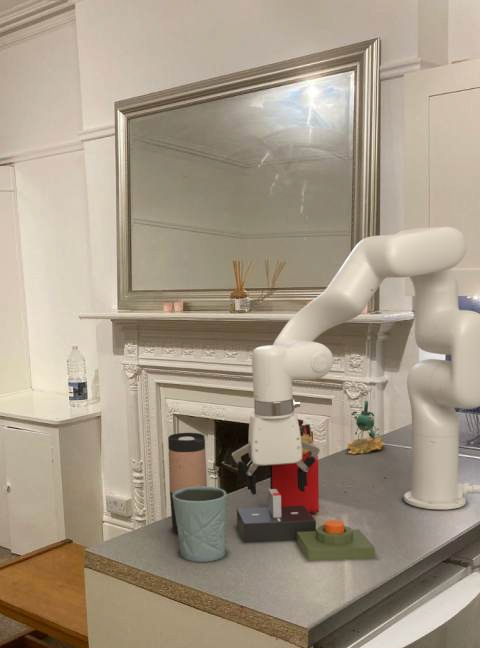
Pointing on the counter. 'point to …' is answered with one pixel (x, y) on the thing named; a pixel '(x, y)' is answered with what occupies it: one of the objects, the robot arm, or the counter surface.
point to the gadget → (273, 524)
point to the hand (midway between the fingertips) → (277, 491)
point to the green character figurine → (364, 424)
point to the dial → (274, 503)
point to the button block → (335, 545)
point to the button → (334, 527)
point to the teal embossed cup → (201, 522)
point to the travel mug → (186, 464)
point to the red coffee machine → (287, 481)
